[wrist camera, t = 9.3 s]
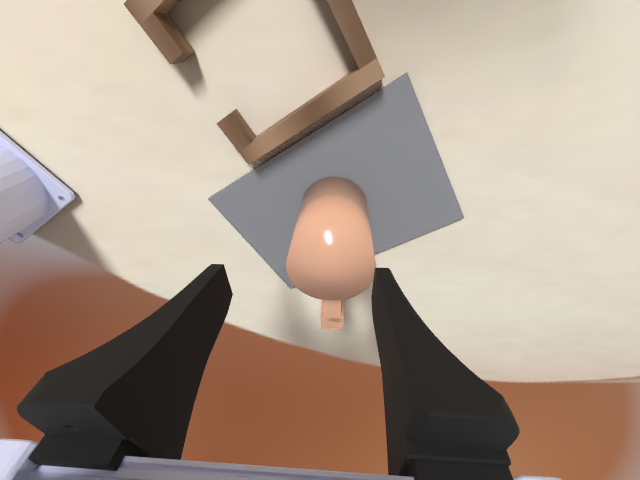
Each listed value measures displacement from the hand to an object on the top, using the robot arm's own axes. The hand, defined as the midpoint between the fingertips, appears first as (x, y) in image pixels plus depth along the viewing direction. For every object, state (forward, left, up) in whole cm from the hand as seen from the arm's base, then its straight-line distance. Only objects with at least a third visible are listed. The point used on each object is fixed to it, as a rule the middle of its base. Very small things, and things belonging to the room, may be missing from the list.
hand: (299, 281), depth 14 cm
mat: (+1, -2, -9) cm, 9 cm away
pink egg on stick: (0, -3, -9) cm, 10 cm away
